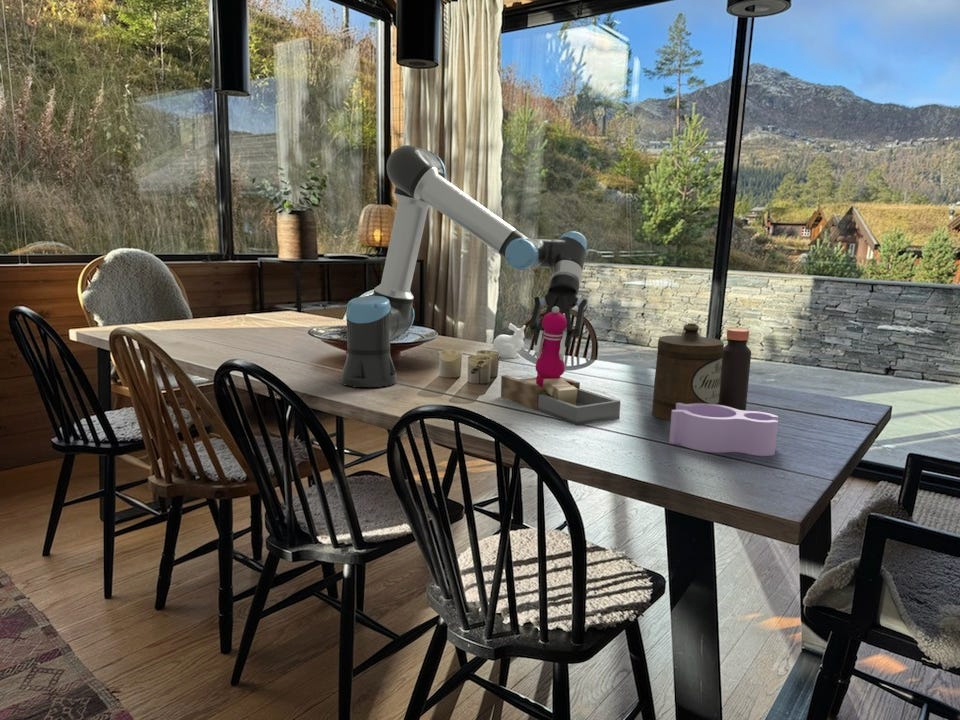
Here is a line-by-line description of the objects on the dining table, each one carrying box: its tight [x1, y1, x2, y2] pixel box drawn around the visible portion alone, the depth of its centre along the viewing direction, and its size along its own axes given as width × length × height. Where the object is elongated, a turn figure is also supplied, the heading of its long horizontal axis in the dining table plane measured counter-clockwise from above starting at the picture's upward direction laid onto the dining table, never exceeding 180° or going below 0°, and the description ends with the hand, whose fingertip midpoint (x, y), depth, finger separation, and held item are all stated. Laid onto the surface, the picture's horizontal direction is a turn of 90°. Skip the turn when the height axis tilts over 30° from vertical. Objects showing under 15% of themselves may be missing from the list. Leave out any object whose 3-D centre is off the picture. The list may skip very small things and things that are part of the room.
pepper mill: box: [535, 306, 567, 387], centre depth 166 cm, size 7×7×20 cm
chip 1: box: [543, 378, 570, 396], centre depth 163 cm, size 5×5×2 cm
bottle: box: [718, 328, 752, 411], centre depth 163 cm, size 7×7×20 cm
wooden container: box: [651, 322, 725, 422], centre depth 158 cm, size 15×15×22 cm
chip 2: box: [553, 385, 578, 405], centre depth 160 cm, size 5×5×2 cm
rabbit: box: [489, 322, 526, 359], centre depth 228 cm, size 12×9×12 cm
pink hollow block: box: [668, 403, 779, 457], centre depth 138 cm, size 20×12×7 cm, turn 66°
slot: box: [500, 373, 581, 411], centre depth 171 cm, size 16×13×6 cm
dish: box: [537, 388, 621, 426], centre depth 159 cm, size 14×13×4 cm
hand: (549, 355), depth 162 cm, fingers closed on pepper mill, 5 cm apart
